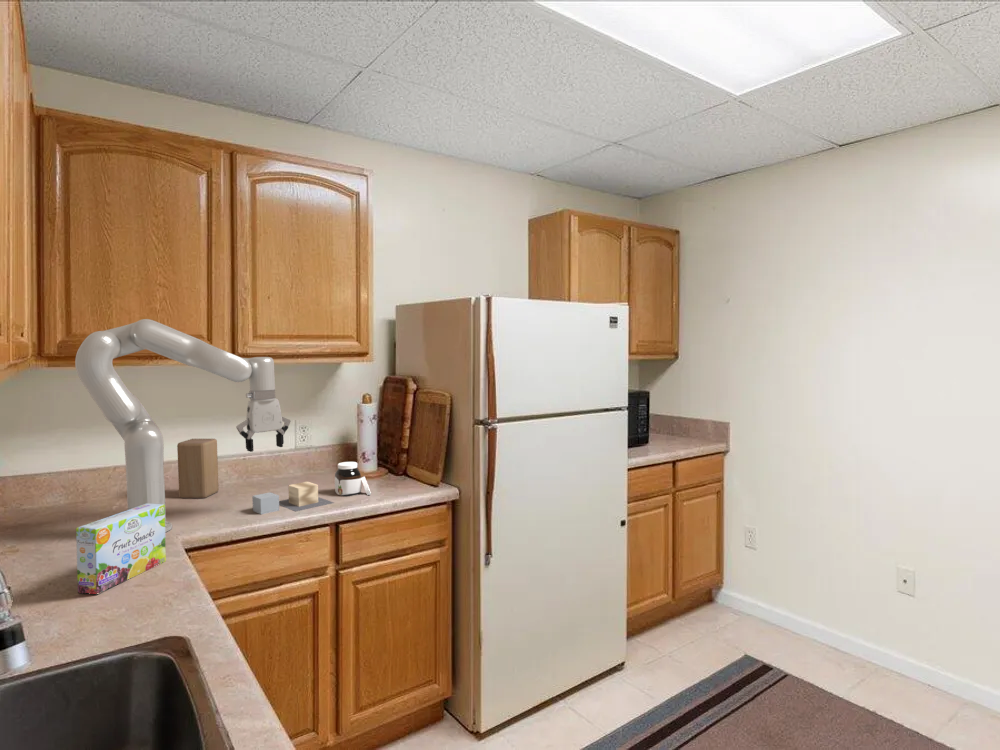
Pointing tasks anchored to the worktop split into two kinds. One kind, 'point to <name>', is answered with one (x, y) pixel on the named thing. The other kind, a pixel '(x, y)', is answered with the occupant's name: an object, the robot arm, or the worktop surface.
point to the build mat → (297, 508)
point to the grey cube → (265, 503)
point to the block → (197, 468)
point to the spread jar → (349, 480)
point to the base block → (303, 493)
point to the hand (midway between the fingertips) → (265, 448)
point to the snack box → (120, 547)
